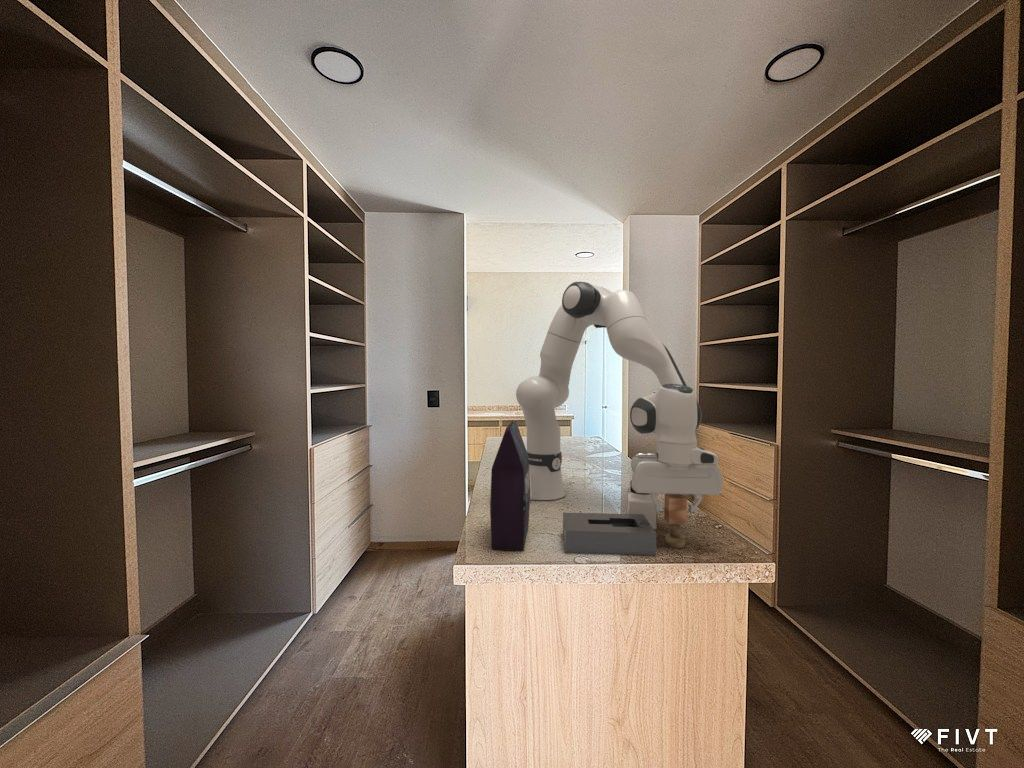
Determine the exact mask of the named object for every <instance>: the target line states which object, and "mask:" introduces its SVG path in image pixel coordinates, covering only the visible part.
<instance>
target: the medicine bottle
mask: <svg viewBox="0 0 1024 768" xmlns="http://www.w3.org/2000/svg"><path fill="white" fill-rule="evenodd" d="M631 483H632V479H631V480H630V486H629V488H630V490H629V492H630V493H627V496H626V497H627V498H626V499H627V512H626V514H643V515H644V516H645V518H646V519H647V520H648V522H649V523H650V525H651V526H652V528H653V529H654V530H657V527H658V512H656V511H655V503H654V502H653V500H652V498H651V497H650V493H636V492H635V491H634V490H633V488H632V485H631Z"/></svg>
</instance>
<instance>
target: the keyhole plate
mask: <svg viewBox="0 0 1024 768" xmlns="http://www.w3.org/2000/svg"><path fill="white" fill-rule="evenodd" d="M655 530H656V529H653V528H652V526H651V525H650V523H649V522H648V520H647V519H646V518H645V516H644V515H643V514H627V513H602V512H601V513H598V512H597V513H595V512H566V511H565V512H562V535H563V542H564V551H565V553H566V554H568V553H569V554H594V555H595V554H597V555H599V554H600V555H627V554H629V555H630V556H631V555H632V556H634V555H636V556H637V555H638V556H657V532H656V531H655Z"/></svg>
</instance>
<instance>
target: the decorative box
mask: <svg viewBox="0 0 1024 768" xmlns="http://www.w3.org/2000/svg"><path fill="white" fill-rule="evenodd" d="M490 473H491V476H490V477H491V479H490V500H489V501H490V502H489V514H490V515H489V516H490V519H489V521H490V540H491V541H490V543H491V550H499V551H500V550H501V551H519V552H520V551H522V552H523V551H524V549H525V545H526V541H527V535H528V530H529V524H530V523H529V522H530V521H529V520H530V519H529V518H530V506H531V504H530V502H531V501H530V477H529V457H528V454H527V447H526V444H525V443H524V440H523V437H522V434H521V431H520V429H519V426H518V423H517V421H516V420H515V421H514V420H512V421H511V422H510V423H509V424H508V425H507V427H506V428H505V431H504V433H503V436H502V439H501V442H500V444H499V447H498V450H497V452H496V455H495V458H494V461H493V464H492V467H491V472H490Z"/></svg>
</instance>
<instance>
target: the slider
mask: <svg viewBox="0 0 1024 768" xmlns="http://www.w3.org/2000/svg"><path fill="white" fill-rule="evenodd" d="M663 508H664V509H663V513H664V514H663V515H664V516H663V517H664V518H663V519H664V520H665V521H666V523H668V525H670V532H669V533H666V534H665V537H664V545H665V546H666V547H668V548H671V549H677V550H680V549H683V548H685V547H686V537H685V535H682V534H681V532H680V531H681V529H680V527H681V525H687V524H688V521H687V520H688V515H687V514H688V498H687V497H686V496H685V495H684V494H664V505H663Z"/></svg>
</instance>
